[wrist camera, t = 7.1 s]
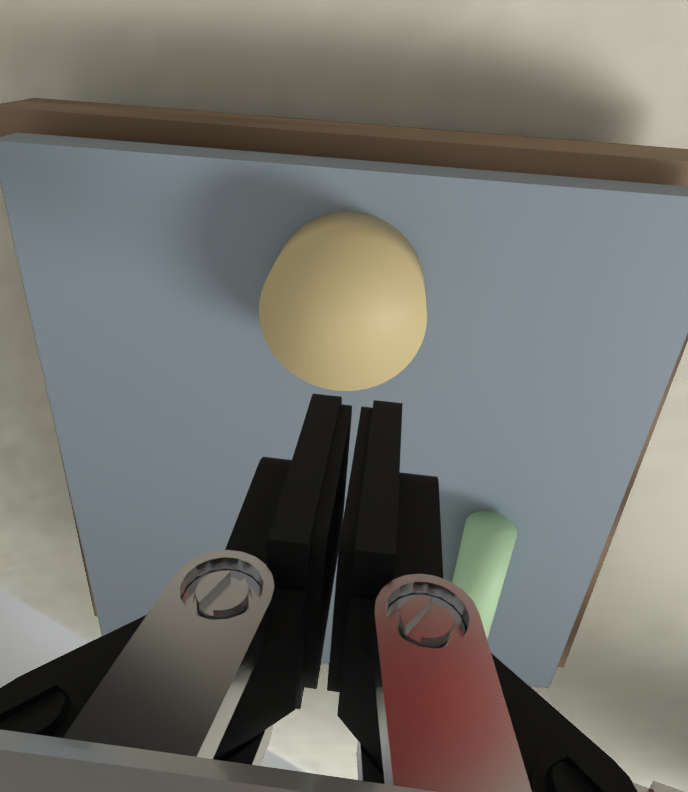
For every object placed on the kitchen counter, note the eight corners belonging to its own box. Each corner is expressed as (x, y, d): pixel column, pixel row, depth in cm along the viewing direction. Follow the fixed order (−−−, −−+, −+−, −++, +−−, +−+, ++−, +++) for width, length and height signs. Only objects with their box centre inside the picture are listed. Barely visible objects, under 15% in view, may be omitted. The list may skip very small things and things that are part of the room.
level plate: (543, 661, 26) (559, 737, 23) (114, 614, 26) (80, 683, 23) (717, 188, 16) (784, 225, 13) (16, 132, 16) (-61, 156, 13)
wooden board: (544, 594, 29) (563, 667, 26) (129, 550, 30) (95, 616, 27) (692, 143, 19) (754, 166, 16) (58, 93, 20) (-12, 106, 16)
